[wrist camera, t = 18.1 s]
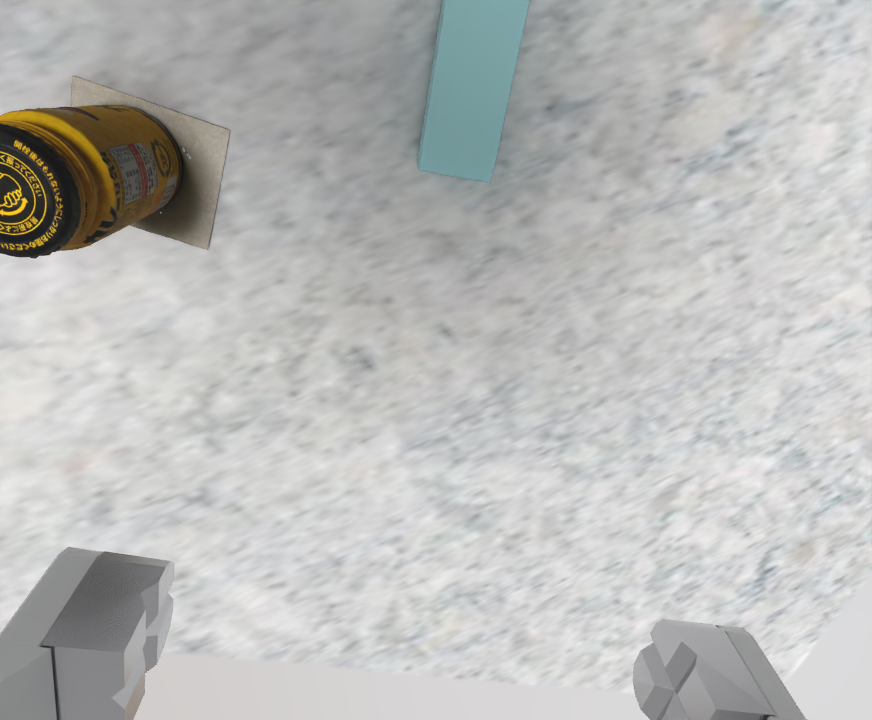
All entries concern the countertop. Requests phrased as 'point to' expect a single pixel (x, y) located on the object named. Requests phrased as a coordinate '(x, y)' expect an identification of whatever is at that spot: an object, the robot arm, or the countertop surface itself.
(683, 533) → the countertop surface
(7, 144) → the condiment
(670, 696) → the robot arm
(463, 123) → the rod
